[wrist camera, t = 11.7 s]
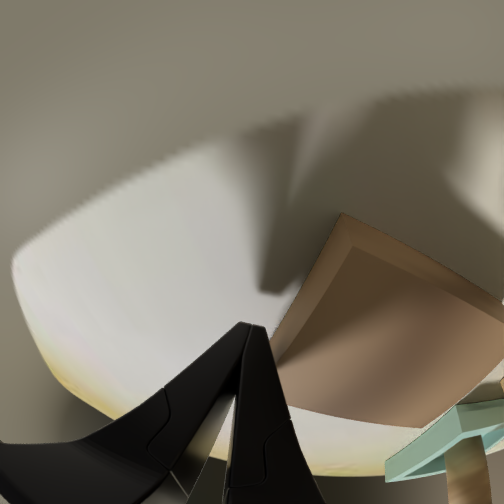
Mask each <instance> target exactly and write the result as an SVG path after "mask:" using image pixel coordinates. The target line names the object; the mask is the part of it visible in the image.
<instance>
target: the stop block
mask: <svg viewBox="0 0 504 504" xmlns="http://www.w3.org/2000/svg"><path fill="white" fill-rule="evenodd" d="M500 383H501V386H502V388H503V391H504V378H503V379H502V380H501V381H500Z"/></svg>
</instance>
